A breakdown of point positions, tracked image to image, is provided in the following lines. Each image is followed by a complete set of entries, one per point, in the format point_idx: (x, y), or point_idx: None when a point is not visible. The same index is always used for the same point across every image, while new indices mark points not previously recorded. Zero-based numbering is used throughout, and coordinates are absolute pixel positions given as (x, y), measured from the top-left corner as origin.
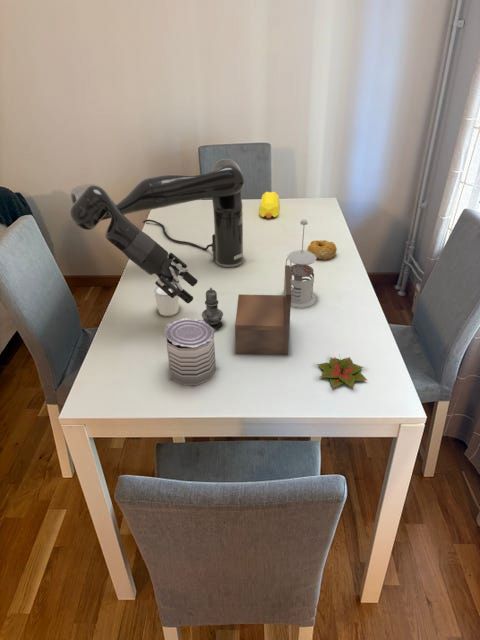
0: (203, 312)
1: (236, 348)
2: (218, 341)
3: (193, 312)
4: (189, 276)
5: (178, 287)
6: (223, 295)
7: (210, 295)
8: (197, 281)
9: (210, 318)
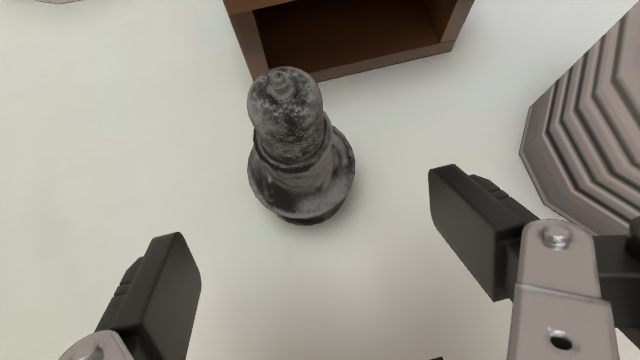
0: (301, 209)
1: (457, 32)
2: (405, 127)
3: (230, 308)
4: (159, 300)
5: (592, 257)
6: (66, 218)
7: (318, 92)
8: (165, 237)
9: (344, 157)
